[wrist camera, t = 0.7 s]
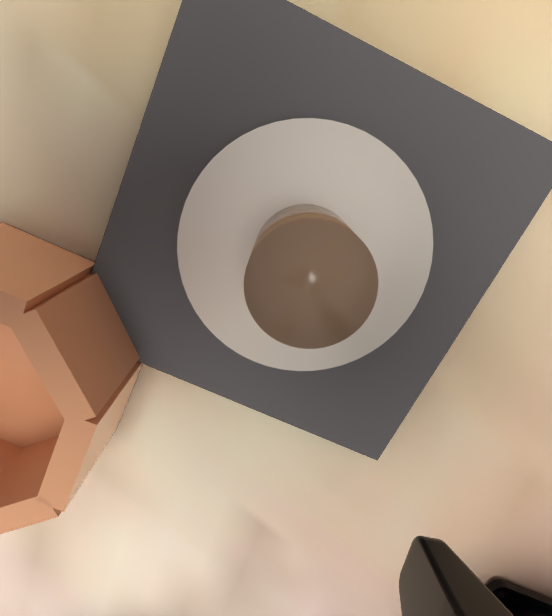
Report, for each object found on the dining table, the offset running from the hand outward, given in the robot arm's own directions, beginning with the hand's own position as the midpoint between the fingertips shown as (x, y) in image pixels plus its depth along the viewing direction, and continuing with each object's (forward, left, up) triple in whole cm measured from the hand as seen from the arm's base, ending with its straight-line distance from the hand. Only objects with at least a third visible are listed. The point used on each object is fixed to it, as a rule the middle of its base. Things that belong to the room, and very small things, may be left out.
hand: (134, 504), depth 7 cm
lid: (-2, -3, -11) cm, 11 cm away
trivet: (-2, -3, -12) cm, 12 cm away
